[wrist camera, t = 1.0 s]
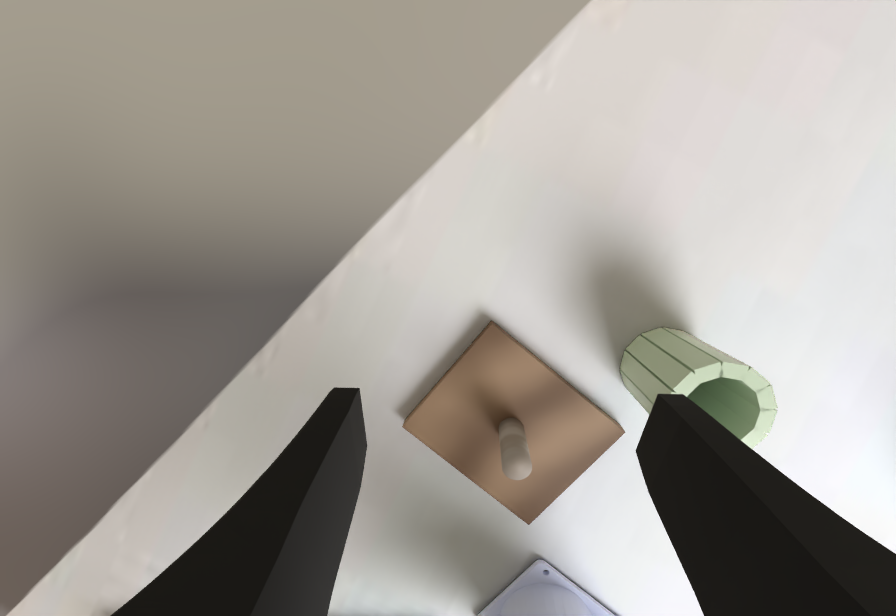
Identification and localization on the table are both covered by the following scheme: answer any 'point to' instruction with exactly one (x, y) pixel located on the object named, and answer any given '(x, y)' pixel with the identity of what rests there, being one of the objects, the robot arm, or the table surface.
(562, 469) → the spool holder
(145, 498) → the table surface
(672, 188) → the table surface
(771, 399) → the green segmented tube
